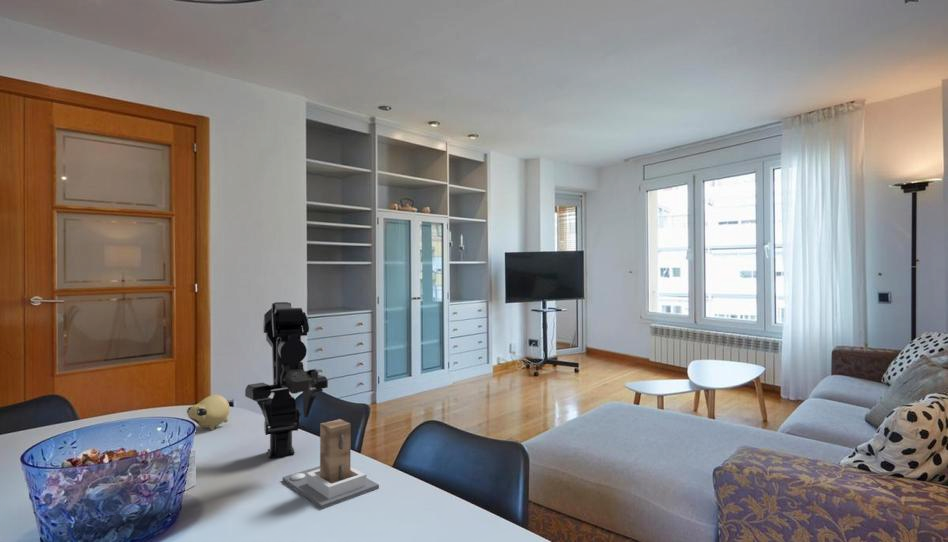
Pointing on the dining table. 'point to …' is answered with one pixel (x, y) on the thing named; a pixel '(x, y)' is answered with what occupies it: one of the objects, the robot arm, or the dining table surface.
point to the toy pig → (210, 411)
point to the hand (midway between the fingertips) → (288, 421)
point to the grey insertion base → (329, 486)
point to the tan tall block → (335, 450)
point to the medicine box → (191, 471)
